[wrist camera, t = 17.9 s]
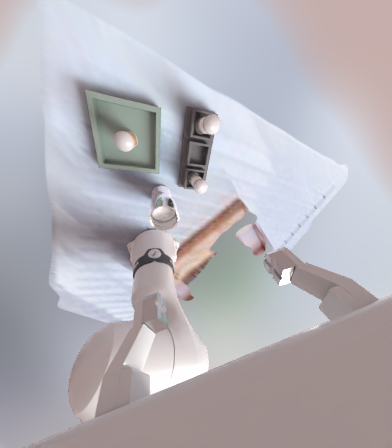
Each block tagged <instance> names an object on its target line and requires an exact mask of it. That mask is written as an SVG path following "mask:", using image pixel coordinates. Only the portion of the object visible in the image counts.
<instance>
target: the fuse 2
mask: <svg viewBox="0 0 392 448" xmlns="http://www.w3.org/2000/svg"><path fill="white" fill-rule="evenodd" d="M188 181H189V182H190V183H191V185H192V186H193V187H194V190H195V191H196V192H197V193H199V194H202V193H204V192H206V190H207V188H208V185H207V183H206V182H205V181H204V180H203V179H202V178H201V177H200V176H199V175H198V174H197V173H196V172H191V173H190V174H189V175H188Z"/></svg>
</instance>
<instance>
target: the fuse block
mask: <svg viewBox="0 0 392 448" xmlns="http://www.w3.org/2000/svg"><path fill="white" fill-rule="evenodd" d="M211 114H215V113H211V112H207V111H203V110H199V109H195V108H190V107H186V116H185V126H184V136H183V146H182V156H181V166H180V176H179V187H184V189H194V187H193V186H192V185H191V183H190V182H189V181H188V175H189V174H190V173H191V172H196V173H197V174H198V175H199V176H200V177H201V178H202V179H203V180H204V181H205V179H206V174H207V169H208V164H209V159H210V153H211V148H212V143H213V138H214V134H213V135H211V134H198V133H197V132H196V131H195V128H194V124H195V121H196V120H197V119H198V118H201V117H206V116H208V115H211ZM215 115H217V114H215ZM217 116H218V115H217Z"/></svg>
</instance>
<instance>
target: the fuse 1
mask: <svg viewBox="0 0 392 448" xmlns="http://www.w3.org/2000/svg"><path fill="white" fill-rule="evenodd" d="M220 124H221V123H220V119H219V117H218V116H217V115H215V114H211V115H208V116H206V117H201V118H198V119H197V120H196V121H195V124H194V128H195V131H196V132H197V133H198V134H211V135H213V134H216V133H217V132H218V131H219V129H220Z"/></svg>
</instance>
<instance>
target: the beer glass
mask: <svg viewBox="0 0 392 448" xmlns="http://www.w3.org/2000/svg"><path fill="white" fill-rule="evenodd" d="M171 196H172V194H171V191H170V190H169V188H167V187H166V186H157V187H155V188H154V189H153V191H152V200H151V202H150V205H149V221H150V223H151V225H152V226H153V227H154V228H155V229H158V230H161V231H166V230H170V229H172V228H174V227H175V226H176V225H177V223H178V220H179V216H178V209H177V206H176V203H175V201H174V200H173V199H172V197H171Z"/></svg>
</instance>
